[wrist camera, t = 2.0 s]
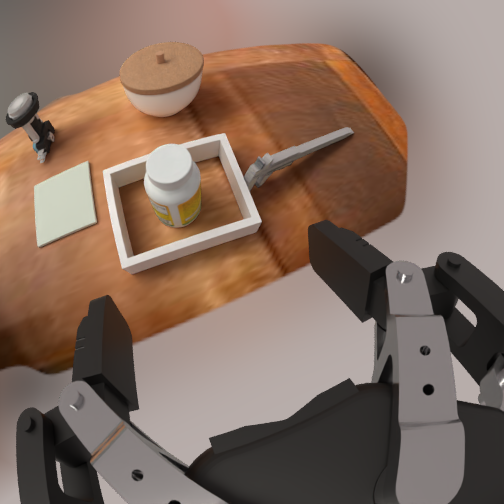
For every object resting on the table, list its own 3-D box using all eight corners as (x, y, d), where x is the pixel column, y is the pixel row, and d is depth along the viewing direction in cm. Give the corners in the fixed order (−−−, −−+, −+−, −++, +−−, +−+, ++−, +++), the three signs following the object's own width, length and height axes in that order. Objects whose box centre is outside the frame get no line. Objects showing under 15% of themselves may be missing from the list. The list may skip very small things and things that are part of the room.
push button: (58, 158, 30) (26, 117, 20) (30, 170, 29) (-5, 133, 19) (62, 124, 31) (38, 82, 21) (35, 135, 30) (8, 97, 20)
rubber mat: (97, 223, 29) (95, 221, 28) (39, 247, 27) (37, 246, 26) (89, 162, 30) (87, 160, 30) (36, 187, 28) (34, 186, 28)
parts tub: (256, 232, 31) (261, 221, 28) (131, 274, 28) (122, 268, 25) (223, 149, 33) (224, 133, 30) (111, 184, 30) (102, 170, 27)
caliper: (245, 196, 32) (253, 170, 26) (240, 189, 33) (247, 162, 26) (352, 134, 38) (371, 109, 32) (348, 129, 38) (366, 104, 32)
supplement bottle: (155, 230, 30) (134, 194, 20) (156, 187, 31) (139, 140, 22) (203, 226, 30) (200, 188, 21) (200, 184, 32) (199, 135, 22)
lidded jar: (134, 139, 32) (118, 90, 23) (127, 90, 34) (115, 45, 25) (211, 118, 34) (214, 67, 25) (193, 73, 36) (193, 27, 27)
